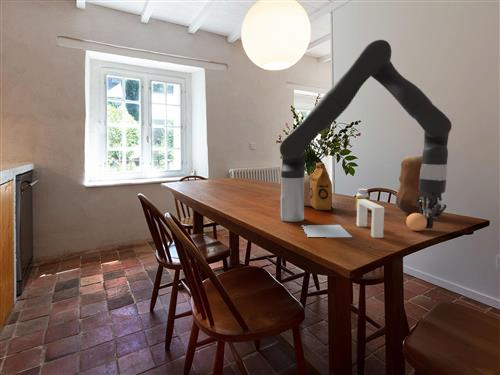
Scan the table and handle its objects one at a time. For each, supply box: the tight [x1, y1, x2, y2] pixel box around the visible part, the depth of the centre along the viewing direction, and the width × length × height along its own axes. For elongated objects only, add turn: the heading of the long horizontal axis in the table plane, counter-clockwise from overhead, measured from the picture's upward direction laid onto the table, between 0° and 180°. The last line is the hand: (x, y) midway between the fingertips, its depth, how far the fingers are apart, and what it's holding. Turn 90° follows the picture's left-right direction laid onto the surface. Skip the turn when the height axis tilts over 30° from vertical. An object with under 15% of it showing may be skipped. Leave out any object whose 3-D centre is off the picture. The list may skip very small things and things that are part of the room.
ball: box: [405, 213, 427, 232], centre depth 94 cm, size 6×6×6 cm
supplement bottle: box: [355, 188, 370, 212], centre depth 126 cm, size 5×5×10 cm
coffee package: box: [308, 162, 333, 211], centre depth 132 cm, size 10×12×22 cm
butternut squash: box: [395, 155, 423, 215], centre depth 115 cm, size 14×13×25 cm
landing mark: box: [300, 224, 353, 238], centre depth 95 cm, size 14×14×1 cm
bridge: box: [356, 199, 385, 239], centre depth 94 cm, size 3×15×10 cm, turn 178°
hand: (428, 227), depth 94 cm, fingers closed
